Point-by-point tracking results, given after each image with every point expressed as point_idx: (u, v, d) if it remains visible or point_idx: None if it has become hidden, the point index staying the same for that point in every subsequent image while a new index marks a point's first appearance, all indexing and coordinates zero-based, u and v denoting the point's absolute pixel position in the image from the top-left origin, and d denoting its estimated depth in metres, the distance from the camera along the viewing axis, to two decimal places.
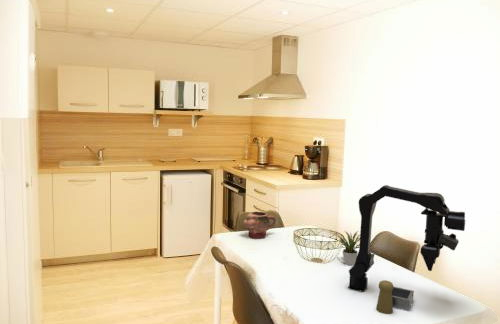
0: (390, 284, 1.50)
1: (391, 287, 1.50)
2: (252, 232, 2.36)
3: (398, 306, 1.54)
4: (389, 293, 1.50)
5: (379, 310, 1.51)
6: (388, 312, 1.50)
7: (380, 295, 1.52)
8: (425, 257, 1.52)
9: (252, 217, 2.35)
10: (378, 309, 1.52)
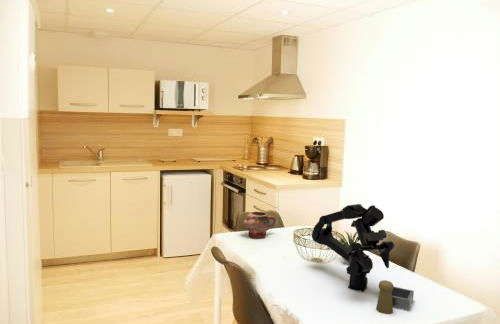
0: (390, 284, 1.50)
1: (391, 287, 1.50)
2: (252, 232, 2.36)
3: (398, 306, 1.54)
4: (389, 293, 1.50)
5: (379, 310, 1.51)
6: (388, 312, 1.50)
7: (380, 295, 1.52)
8: (356, 258, 1.61)
9: (252, 217, 2.35)
10: (378, 309, 1.52)
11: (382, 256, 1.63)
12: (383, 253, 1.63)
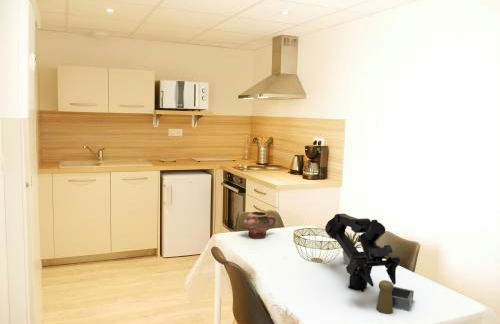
0: (390, 284, 1.50)
1: (391, 287, 1.50)
2: (252, 232, 2.36)
3: (398, 306, 1.54)
4: (389, 293, 1.50)
5: (379, 310, 1.51)
6: (388, 312, 1.50)
7: (380, 295, 1.52)
8: (362, 274, 1.56)
9: (252, 217, 2.35)
10: (378, 309, 1.52)
11: (388, 272, 1.59)
12: (389, 269, 1.58)
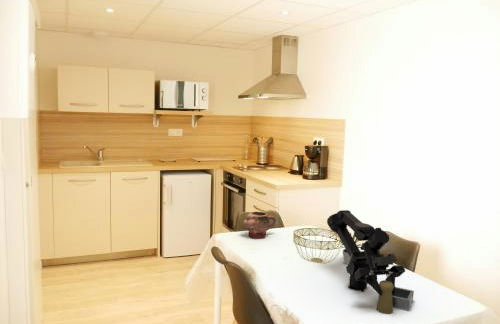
0: (390, 284, 1.50)
1: (391, 287, 1.50)
2: (252, 232, 2.36)
3: (398, 306, 1.54)
4: (389, 293, 1.50)
5: (379, 310, 1.51)
6: (388, 312, 1.50)
7: None
8: (370, 283, 1.54)
9: (252, 217, 2.35)
10: (378, 309, 1.52)
11: None
12: (389, 278, 1.55)
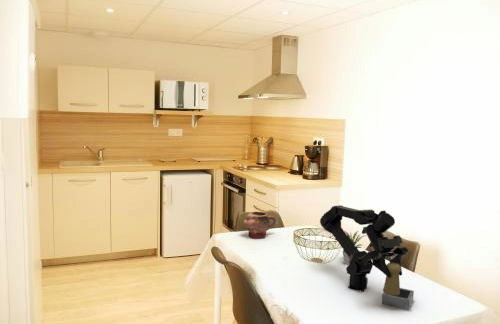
0: (398, 266, 1.52)
1: (399, 268, 1.52)
2: (252, 232, 2.36)
3: (398, 306, 1.54)
4: (397, 274, 1.52)
5: (388, 292, 1.53)
6: (396, 293, 1.52)
7: (388, 277, 1.53)
8: (377, 266, 1.55)
9: (252, 217, 2.35)
10: (386, 291, 1.53)
11: None
12: (394, 260, 1.57)
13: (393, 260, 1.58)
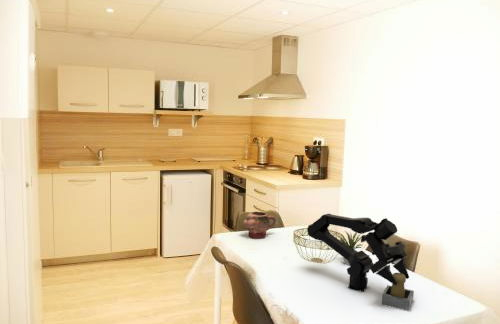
0: (404, 275, 1.57)
1: (405, 278, 1.57)
2: (252, 232, 2.36)
3: (398, 306, 1.54)
4: (403, 284, 1.57)
5: None
6: None
7: (395, 288, 1.57)
8: (382, 274, 1.56)
9: (252, 217, 2.35)
10: None
11: (397, 267, 1.64)
12: (399, 264, 1.63)
13: (398, 264, 1.64)
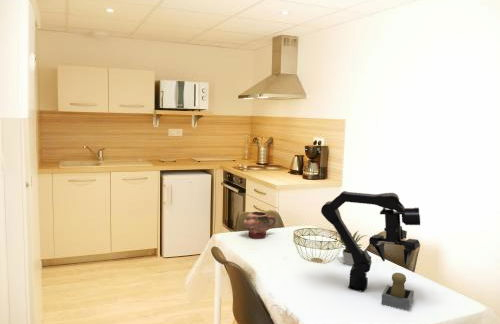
0: (404, 275, 1.57)
1: (405, 278, 1.57)
2: (252, 232, 2.36)
3: (398, 306, 1.54)
4: (403, 284, 1.57)
5: None
6: None
7: (395, 288, 1.57)
8: (408, 253, 1.60)
9: (252, 217, 2.35)
10: None
11: (381, 249, 1.68)
12: (382, 246, 1.69)
13: (381, 246, 1.69)
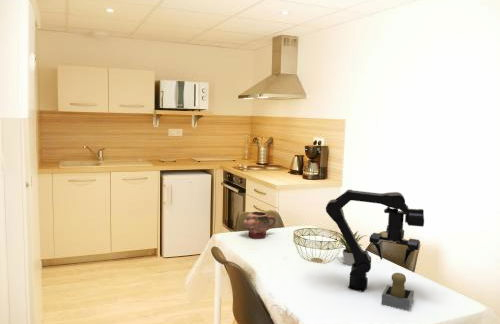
0: (404, 275, 1.57)
1: (405, 278, 1.57)
2: (252, 232, 2.36)
3: (398, 306, 1.54)
4: (403, 284, 1.57)
5: None
6: None
7: (395, 288, 1.57)
8: (409, 252, 1.62)
9: (252, 217, 2.35)
10: None
11: (380, 247, 1.68)
12: (381, 245, 1.69)
13: (381, 245, 1.69)
